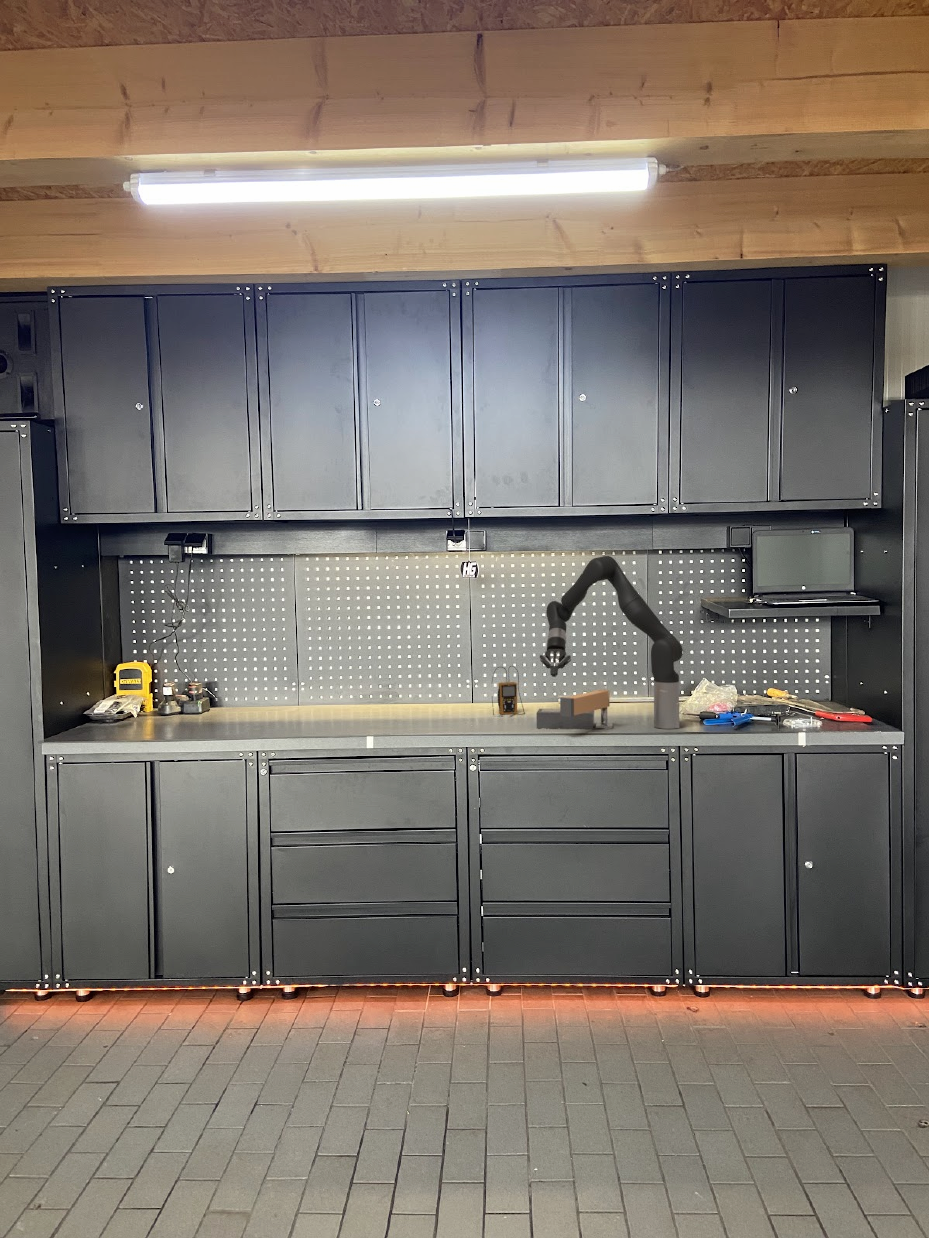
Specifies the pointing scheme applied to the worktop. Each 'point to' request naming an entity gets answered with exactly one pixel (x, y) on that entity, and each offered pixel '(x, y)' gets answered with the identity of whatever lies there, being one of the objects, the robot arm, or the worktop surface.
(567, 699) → the bar
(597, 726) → the hinge post
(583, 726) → the dark grey brick
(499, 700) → the multimeter
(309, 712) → the worktop surface
